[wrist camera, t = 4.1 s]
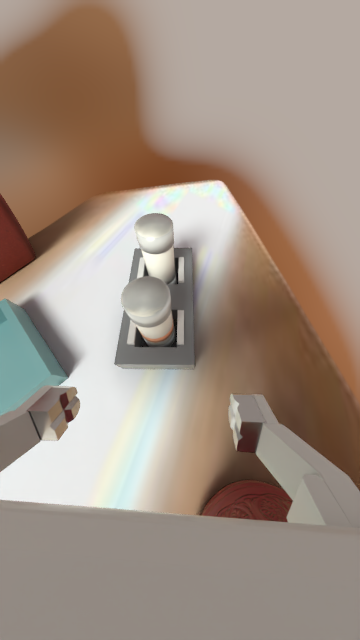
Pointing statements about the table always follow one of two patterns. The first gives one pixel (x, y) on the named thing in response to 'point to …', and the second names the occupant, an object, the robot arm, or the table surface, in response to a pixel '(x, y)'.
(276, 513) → the canister
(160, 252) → the fuse
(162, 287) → the grey capped cylinder
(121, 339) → the fuse block
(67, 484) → the table surface
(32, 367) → the tray
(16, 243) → the plant pot
